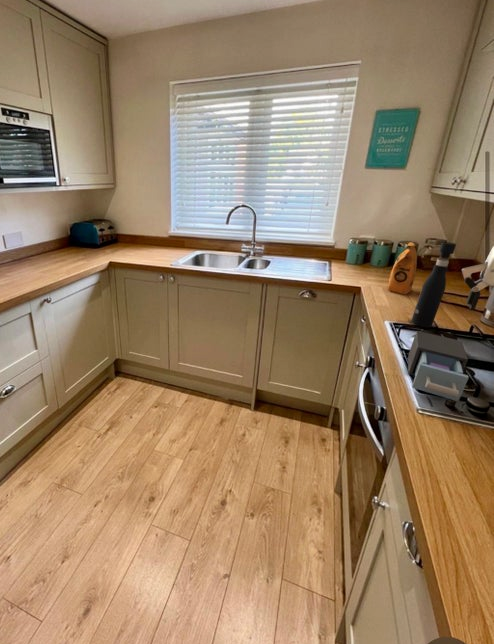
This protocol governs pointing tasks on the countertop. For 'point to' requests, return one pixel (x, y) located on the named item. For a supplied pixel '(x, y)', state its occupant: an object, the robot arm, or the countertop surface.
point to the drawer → (439, 376)
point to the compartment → (435, 349)
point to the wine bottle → (433, 289)
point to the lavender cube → (439, 366)
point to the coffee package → (404, 271)
